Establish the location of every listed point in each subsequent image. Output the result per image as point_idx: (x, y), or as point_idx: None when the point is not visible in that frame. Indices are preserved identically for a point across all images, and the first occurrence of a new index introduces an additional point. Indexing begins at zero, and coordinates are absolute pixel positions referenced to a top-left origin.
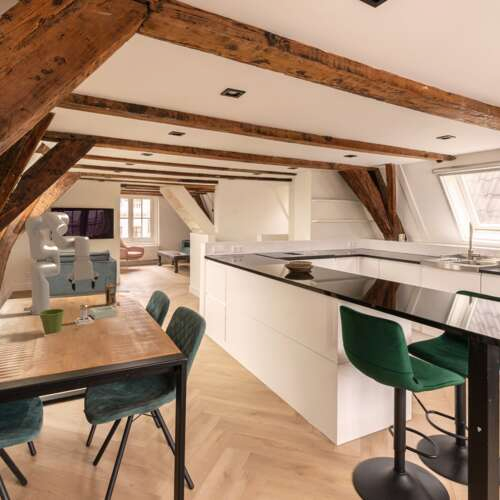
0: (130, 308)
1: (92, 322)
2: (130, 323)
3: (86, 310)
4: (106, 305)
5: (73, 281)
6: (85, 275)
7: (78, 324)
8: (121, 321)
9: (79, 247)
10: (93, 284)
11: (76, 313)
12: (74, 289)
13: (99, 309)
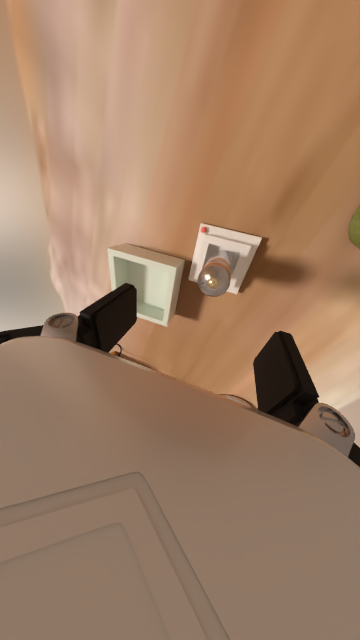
0: (81, 303)
1: (208, 225)
2: (97, 102)
3: (211, 260)
4: (120, 352)
5: (331, 436)
6: (94, 469)
7: (256, 238)
8: (121, 178)
9: None
10: (105, 299)
11: (187, 356)
12: (289, 338)
13: (146, 311)
